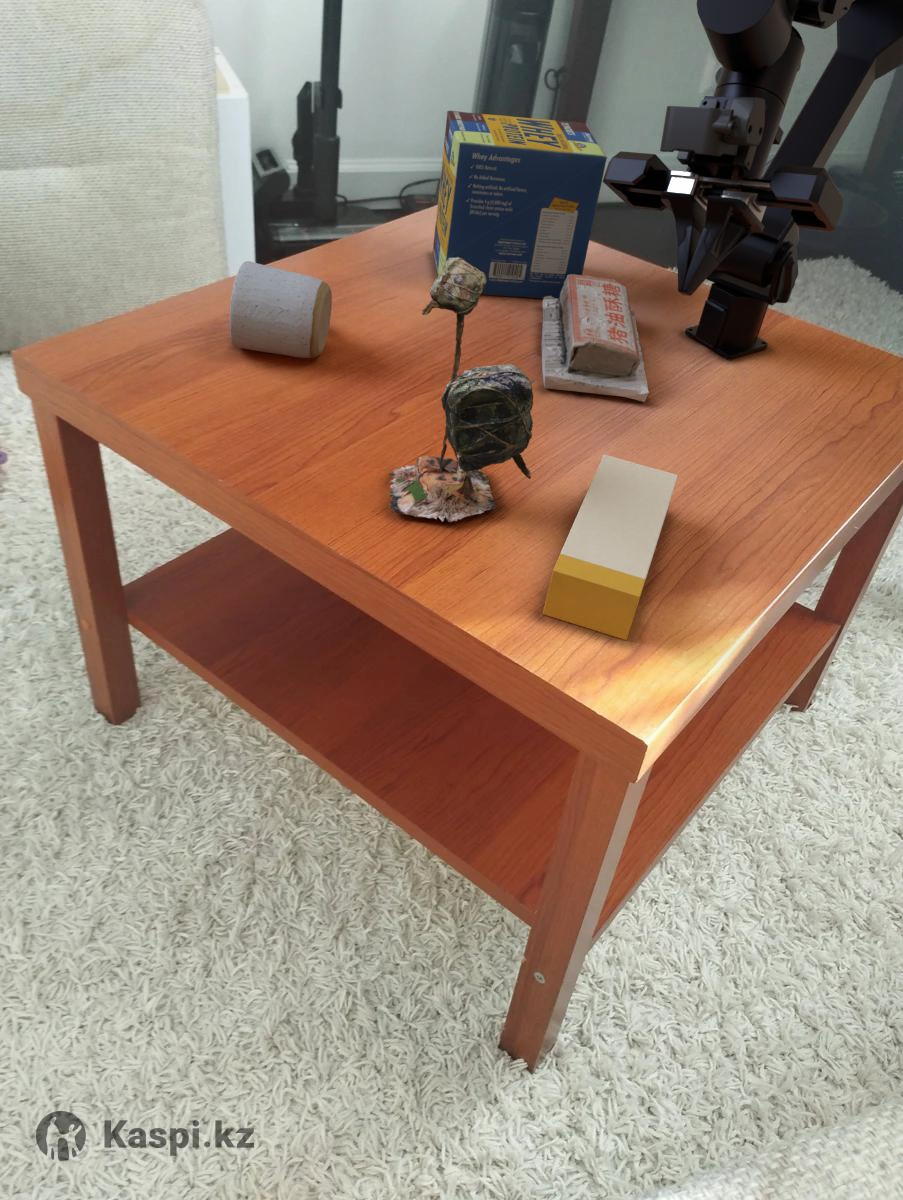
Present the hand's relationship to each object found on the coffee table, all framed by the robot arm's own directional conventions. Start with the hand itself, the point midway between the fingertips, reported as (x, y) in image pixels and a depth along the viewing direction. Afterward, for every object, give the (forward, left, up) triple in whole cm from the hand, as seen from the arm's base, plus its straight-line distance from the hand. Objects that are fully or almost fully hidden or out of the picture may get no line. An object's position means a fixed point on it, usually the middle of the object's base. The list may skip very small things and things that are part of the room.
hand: (684, 293), depth 81 cm
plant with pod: (+22, +1, -13) cm, 26 cm away
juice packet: (+10, +8, -11) cm, 17 cm away
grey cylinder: (+22, -27, -13) cm, 37 cm away
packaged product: (-5, -13, -13) cm, 19 cm away
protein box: (-8, -31, -13) cm, 35 cm away
